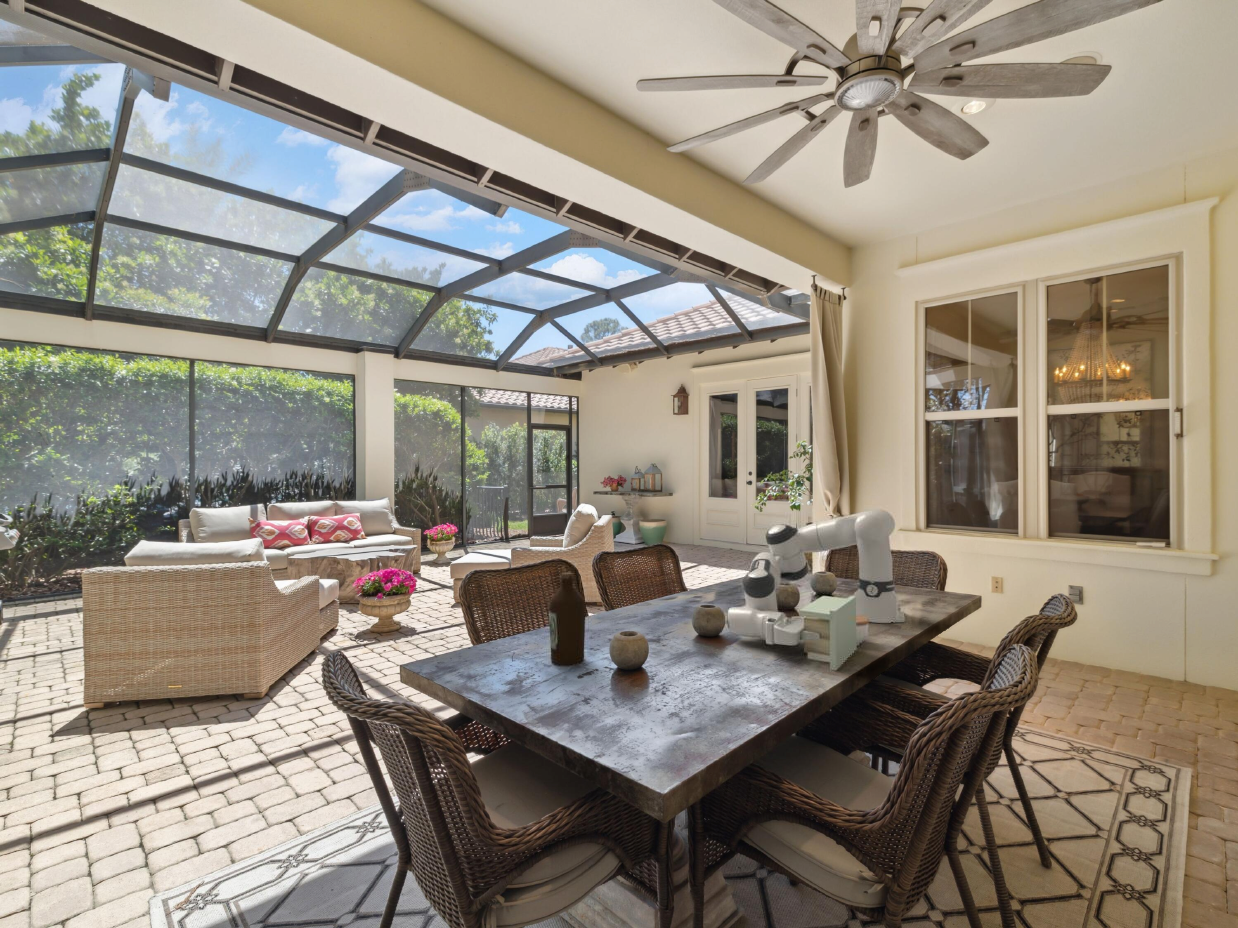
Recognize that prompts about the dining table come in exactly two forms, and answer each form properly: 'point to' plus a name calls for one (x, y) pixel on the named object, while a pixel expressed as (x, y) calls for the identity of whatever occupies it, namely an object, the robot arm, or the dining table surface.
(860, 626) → the lidded jar
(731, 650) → the dining table surface
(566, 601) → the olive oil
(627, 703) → the dining table surface
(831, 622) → the hutch
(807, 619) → the birch box
